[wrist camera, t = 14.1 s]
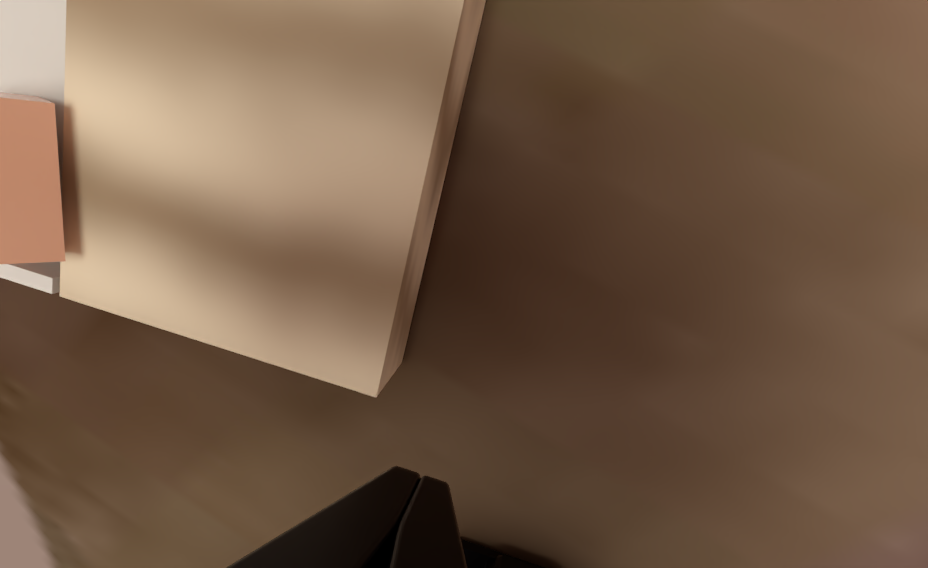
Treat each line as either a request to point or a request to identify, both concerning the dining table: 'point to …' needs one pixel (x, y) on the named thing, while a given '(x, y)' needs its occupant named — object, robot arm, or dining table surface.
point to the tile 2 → (29, 182)
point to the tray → (35, 92)
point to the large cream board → (262, 170)
